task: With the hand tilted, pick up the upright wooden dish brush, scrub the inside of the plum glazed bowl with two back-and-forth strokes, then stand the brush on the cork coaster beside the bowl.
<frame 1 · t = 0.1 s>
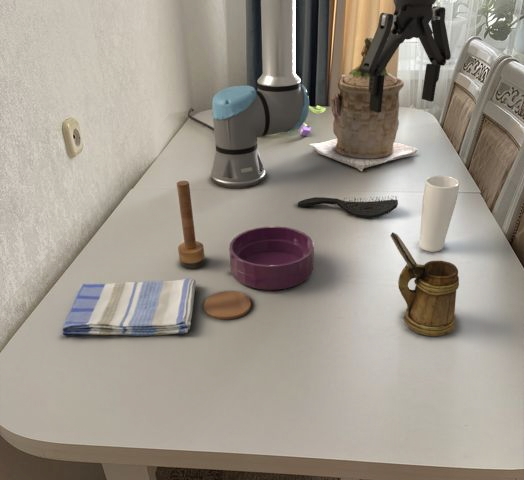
hand: (401, 105, 110), 28 cm above the table, tool pointing down, fingers open, 13 cm apart
dish towel: (134, 311, 105), on the table
white tumbler: (430, 248, 122), on the table
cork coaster: (227, 306, 106), on the table
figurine: (292, 127, 193), on the table
dish brush: (192, 263, 119), on the table
bowl: (272, 270, 116), on the table
wooden mug: (416, 323, 100), on the table
hairbrush: (346, 210, 138), on the table
cookie jar: (362, 153, 170), on the table
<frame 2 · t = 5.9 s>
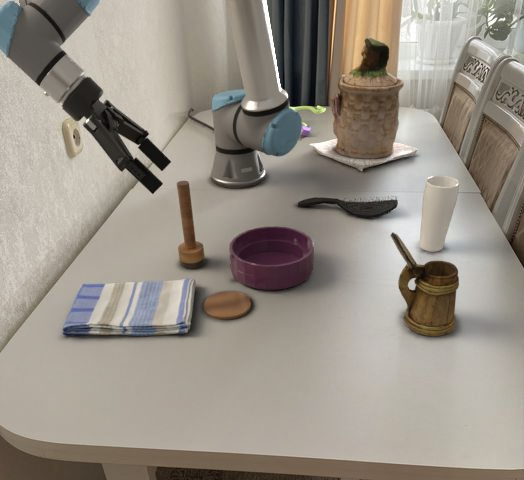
hand: (162, 177, 108), 19 cm above the table, tool tilted 40°, fingers open, 13 cm apart
nothing on the table moved.
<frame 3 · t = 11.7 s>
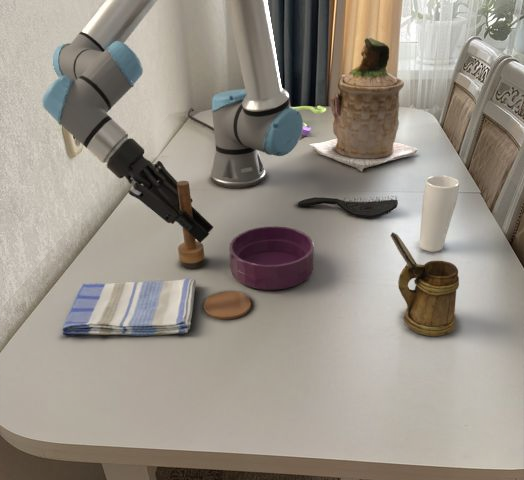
hand: (206, 234, 114), 7 cm above the table, tool tilted 45°, fingers closed on dish brush, 2 cm apart
dish brush: (192, 263, 119), on the table, touching gripper
everything else where it was.
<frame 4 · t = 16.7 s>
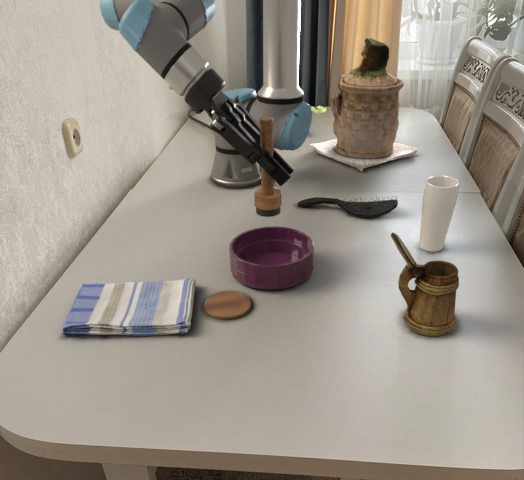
hand: (287, 178, 105), 19 cm above the table, tool tilted 45°, fingers closed on dish brush, 2 cm apart
dish brush: (268, 211, 111), point 12 cm above the table, touching gripper
everything else where it was.
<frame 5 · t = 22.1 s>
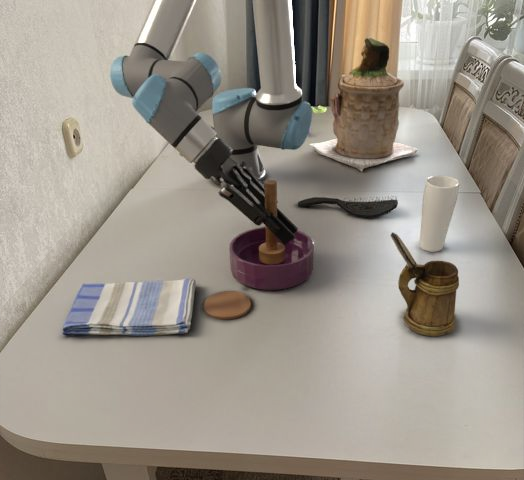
hand: (291, 236, 111), 8 cm above the table, tool tilted 45°, fingers closed on dish brush, 2 cm apart
dish brush: (272, 264, 116), point 1 cm above the table, touching gripper
everything else where it was.
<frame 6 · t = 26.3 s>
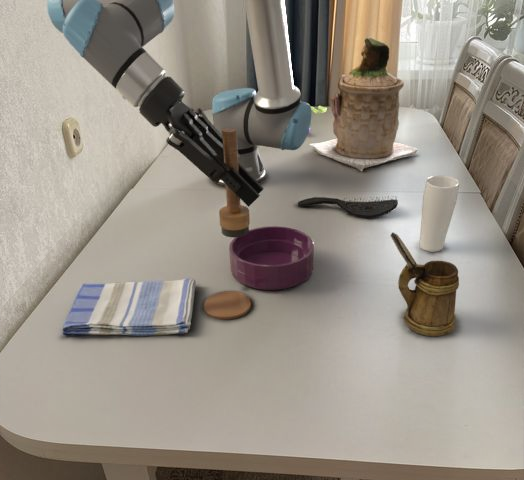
hand: (256, 197, 95), 20 cm above the table, tool tilted 45°, fingers closed on dish brush, 2 cm apart
dish brush: (235, 231, 100), point 14 cm above the table, touching gripper
everything else where it was.
when the fingers open (7 cm above the table, at t = 30.6 s): dish brush stays where it is, resting on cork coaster.
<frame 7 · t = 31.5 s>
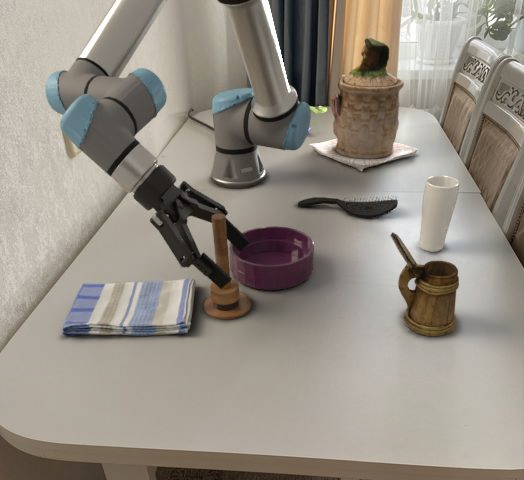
hand: (236, 264, 99), 9 cm above the table, tool tilted 45°, fingers open, 13 cm apart
dish brush: (225, 303, 105), point 1 cm above the table, touching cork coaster
everything else where it was.
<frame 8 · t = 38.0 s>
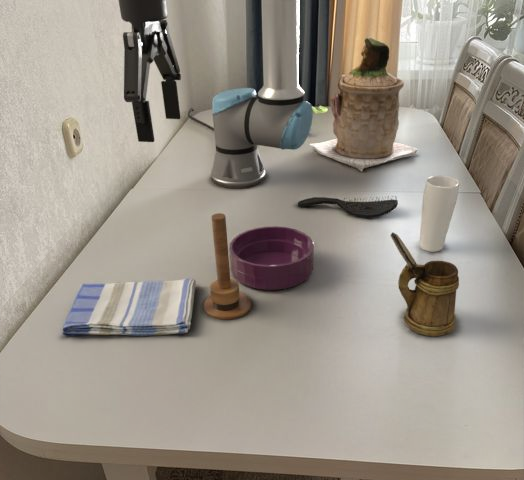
hand: (160, 129, 100), 29 cm above the table, tool pointing down, fingers open, 13 cm apart
nothing on the table moved.
at the end: dish brush 0.4 cm off-centre on the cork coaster, point 0.6 cm above the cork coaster's base; dish brush tilted 0°; bowl moved 0.0 cm from its start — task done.
